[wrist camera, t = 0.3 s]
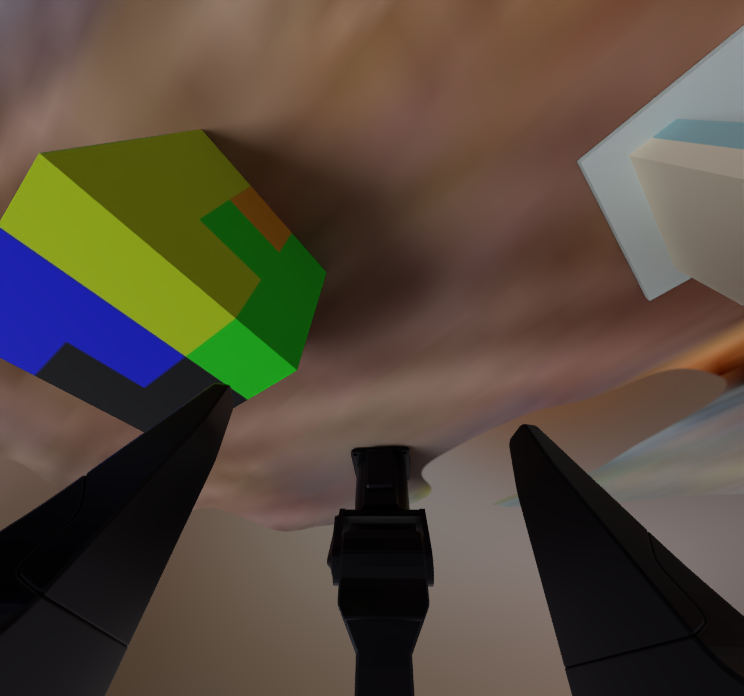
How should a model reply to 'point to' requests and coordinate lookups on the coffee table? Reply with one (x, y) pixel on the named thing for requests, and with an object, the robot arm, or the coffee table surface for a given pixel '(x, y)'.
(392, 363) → the coffee table surface
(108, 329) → the puzzle toy
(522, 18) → the coffee table surface
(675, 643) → the robot arm
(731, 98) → the mat
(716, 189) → the tile
